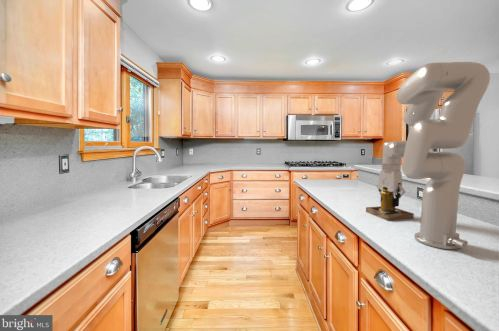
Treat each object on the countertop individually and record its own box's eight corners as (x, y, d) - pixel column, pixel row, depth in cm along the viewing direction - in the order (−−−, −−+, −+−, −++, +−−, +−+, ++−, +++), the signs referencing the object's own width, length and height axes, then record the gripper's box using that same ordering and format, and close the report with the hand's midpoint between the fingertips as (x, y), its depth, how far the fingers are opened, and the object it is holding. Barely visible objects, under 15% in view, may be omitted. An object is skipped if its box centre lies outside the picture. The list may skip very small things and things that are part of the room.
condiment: (378, 208, 115) (379, 185, 114) (398, 210, 112) (399, 186, 111) (381, 212, 108) (382, 187, 107) (402, 214, 105) (403, 189, 104)
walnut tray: (413, 218, 106) (413, 213, 105) (388, 220, 103) (388, 215, 102) (388, 210, 119) (389, 205, 119) (365, 211, 116) (366, 207, 116)
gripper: (371, 166, 116) (369, 200, 118) (400, 169, 100) (398, 209, 101) (383, 166, 118) (381, 200, 119) (414, 169, 101) (411, 208, 103)
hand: (389, 204), depth 110 cm, fingers open, 6 cm apart
